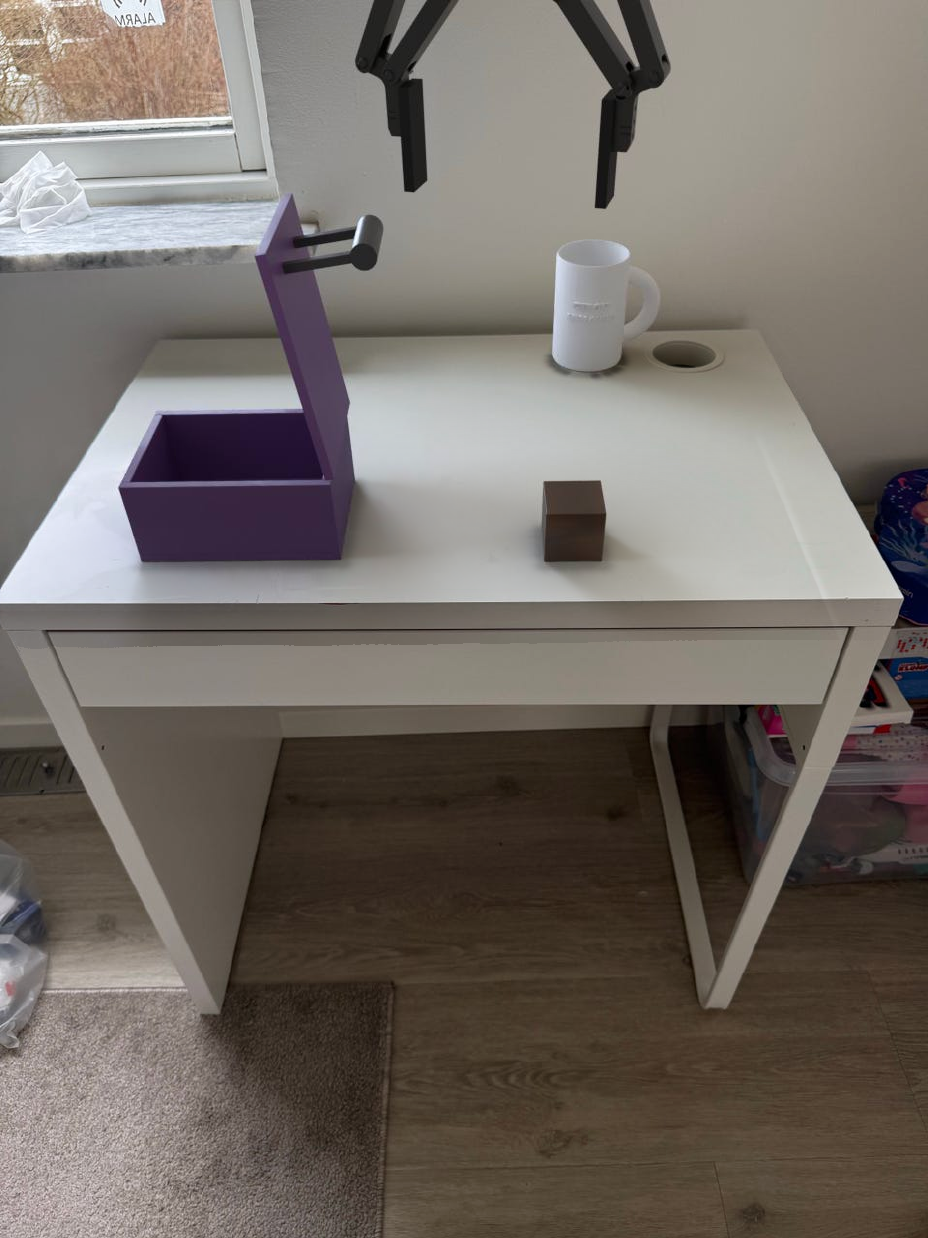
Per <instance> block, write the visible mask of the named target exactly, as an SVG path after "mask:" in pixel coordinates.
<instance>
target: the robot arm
mask: <svg viewBox="0 0 928 1238" xmlns="http://www.w3.org/2000/svg"><path fill="white" fill-rule="evenodd" d="M459 1H460V0H426V1H425V2H424V4H423V5H422V7H421V9H420V10H419V11H418V12H417V15H416V16H415V18H414V19H413V21H412V22H411V24H410V25H409V27H408V29H407V30H406V31H405V33H404V35H402V37H401V40H400V41H399V43H398V44H397V46H396V47H395V49H393V52H392V53H390V52H389V50H390V47H391V44H392V41H393V39H394V35H395V33H396V29H397V26H398V23H399V21H400V18H401V14H402V13H403V10H404V6H405V3H406V0H373V2H372V5H371V8H370V11H369V13H368V17H367V21H366V24H365V27H364V30H363V33H362V36H361V39H360V43H359V44H358V48H357V52H356V55H355V57H354V59H355V60H354V63H355V67H356V70H357V71H358V72H360V73H361V74H370V75H372V76H375V78H378V79H379V81H381V83H382V84H383V86H384V93H385V94H384V95H385V107H386V118H387V121H386V122H387V130H388V132H389V134H390V137H397V138H398V137H399V138H400V147H401V162H402V177H403V178H402V180H403V192H404V193H416V191H418V190H419V189H420V188H421V187H422V186H423V185H424V184H425V183H426V182H427V181H428V163H427V161H428V160H427V143H426V142H427V141H426V139H427V138H426V121H425V120H426V119H425V99H424V83H423V81H424V79H423V78H415V77H413V78H410V76H411V74H413V73H414V71H415V70H414V68H415V67H416V65H417V64H418V63H419V61H420V59H421V58H422V56H423V55H424V53H425V52H426V50H427V49H428V47H430V45H431V43H432V41H433V40H434V38H435V37H436V36H437V34H438V33H439V31H440V30H441V28H442V27H443V25H444V23H445V22H446V21H447V19H448V18H449V16H450V15H451V13H452V12H453V11H454V9H455V7H456V6H457V4H458V2H459ZM552 2H554V3H555V4H556V5H557V6H558V8H559V9H560V11H561V13H562V15H564V18H566V20H567V22H568V23H569V25H570V26H571V28H572V29H573V31H574V32H575V34H576V36H577V37H578V39H579V40H580V41H581V43H582V45H583V46H584V47H585V49H586V51H587V53H588V54H589V55H590V57H591V58H592V60H593V62H594V63H595V65H596V66H597V68H598V69H599V71H600V73H601V74H602V75H603V77H604V78H605V80H606V82H607V83H608V85H609V86H610V89H609V90H608V91H607V93H606V94H605V95H604V96H603V97H602V98H601V104H600V117H599V118H600V119H599V133H598V135H599V136H598V148H597V149H598V150H597V163H596V164H597V165H596V182H595V198H594V209H599V210H600V209H601V210H606V209H607V208H608V207H609V204H610V203H611V201H612V200H613V198H614V197H615V191H616V177H617V164H618V153H628V152H629V150H630V148H631V146H632V145H633V142H634V140H635V136H636V127H637V114H638V102H639V96H640V93H642V92H645V91H648V90H651V89H658V88H659V87H661V86H662V85H663V83H664V82H665V81H666V79H667V78H668V76H669V74H670V73H671V70H672V66H671V62H670V58H669V55H668V52H667V49H666V46H665V43H664V40H663V37H662V34H661V31H660V28H659V24H658V22H657V19H656V15H655V13H654V9H653V6H652V3H651V1H650V0H616V2H617V5H618V7H619V10H620V14H621V16H622V19H623V22H624V24H625V27H626V31H627V34H628V37H629V39H630V42H631V46H632V49H633V51H634V54H635V57H636V59H637V63H638V66H636V64H635V63H634V61H633V60H632V58H631V57H630V55H629V53H628V51H627V50H626V49H625V47H624V45H623V44H622V42H621V41H620V38H618V36H617V34H616V32H615V31H614V30H613V28H612V27H611V25H610V23H609V22H608V20H607V19H606V18H605V15H604V14H603V12H602V11H601V9H600V7H599V6H598V5H597V2H596V1H595V0H552Z"/></svg>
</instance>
